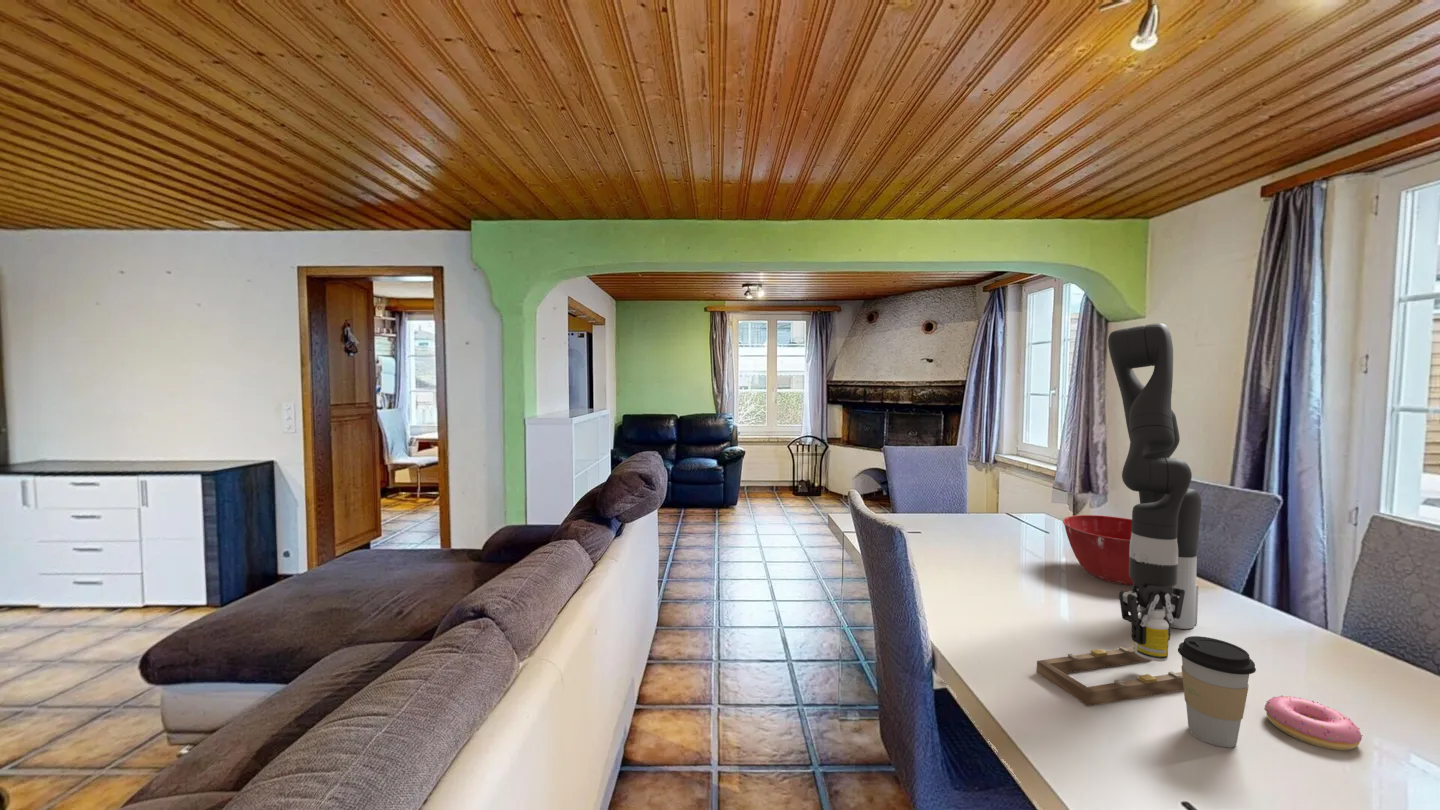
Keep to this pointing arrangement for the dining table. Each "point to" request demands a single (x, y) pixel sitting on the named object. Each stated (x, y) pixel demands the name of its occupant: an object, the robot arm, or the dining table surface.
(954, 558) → the dining table surface
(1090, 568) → the mixing bowl
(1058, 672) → the wooden u-shaped frame
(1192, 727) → the coffee cup
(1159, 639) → the supplement bottle
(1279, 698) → the doughnut
